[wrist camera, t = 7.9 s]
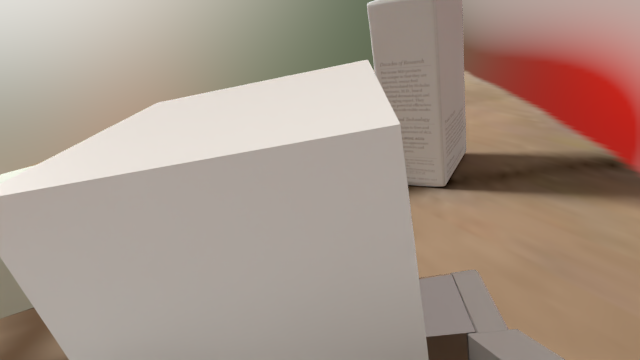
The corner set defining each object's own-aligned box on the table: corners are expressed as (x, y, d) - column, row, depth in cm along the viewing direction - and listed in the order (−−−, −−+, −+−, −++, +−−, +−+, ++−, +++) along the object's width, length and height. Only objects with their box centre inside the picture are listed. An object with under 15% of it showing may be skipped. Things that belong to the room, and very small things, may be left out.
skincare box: (414, 152, 31) (397, -6, 26) (470, 153, 29) (463, -21, 24) (385, 186, 27) (358, 2, 22) (449, 190, 24) (435, -15, 19)
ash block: (-34, 416, 16) (-95, 349, 14) (41, 298, 23) (7, 245, 22) (157, 348, 17) (121, 280, 16) (172, 256, 24) (149, 203, 23)
